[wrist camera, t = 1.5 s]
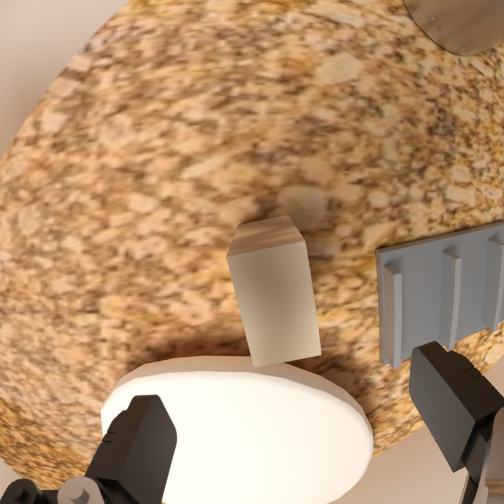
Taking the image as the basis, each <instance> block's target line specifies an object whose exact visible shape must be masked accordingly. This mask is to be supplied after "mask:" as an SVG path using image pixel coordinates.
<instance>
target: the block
mask: <svg viewBox="0 0 504 504" xmlns="http://www.w3.org/2000/svg"><path fill="white" fill-rule="evenodd" d="M226 257H227V261H228V265H229V269H230V274H231V278H232V282H233V286H234V290H235V294H236V298H237V302H238V306H239V310H240V314H241V318H242V322H243V326H244V330H245V334H246V338H247V342H248V346H249V350H250V354H251V358H252V361H253V365H254V367H258V366H264V365H270V364H276V363H282V362H288V361H293V360H298V359H303V358H308V357H313V356H318V355H322V354H321V346H320V338H319V330H318V322H317V314H316V307H315V300H314V293H313V286H312V279H311V273H310V266H309V260H308V254H307V248H306V242H305V240H304V238H303V237H302V235H301V234H300V232H299V231H298V229H297V228H296V226H295V225H294V223H293V222H292V220H291V219H290V217H289V216H288V215H285V216H280V217H275V218H269V219H264V220H259V221H254V222H249V223H244V224H240V225H238V226H237V229H236V232H235V234H234V237H233V240H232V243H231V245H230V248H229V251H228V254H227V256H226Z"/></svg>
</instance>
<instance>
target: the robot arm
mask: <svg viewBox="0 0 504 504" xmlns="http://www.w3.org/2000/svg"><path fill="white" fill-rule="evenodd" d="M403 1H404V4H405V6H406V8H407V10H408V12H409V13H410V15H411V17H412V18H413V19H414V21H415V22H416V24H417V25H418V26H419V27H420V28H421V29H422V30H423V31H424V32H425V34H427V35H428V36H429V37H430V38H431V39H432V40H433V41H434V42H436V43H437V44H439V45H440V46H442V47H443V48H445V49H447V50H449V51H450V52H452V53H455V54H458V55H462V56H472V55H476V54H478V53H480V52H483V51H485V50H488V49H490V48H493V47H495V46H497V45H501V44H503V43H504V0H403ZM409 391H410V396H411V399H412V401H413V403H414V405H415V407H416V408H417V410H418V412H419V413H420V415H421V417H422V418H423V420H424V422H425V423H426V425H427V427H428V429H429V430H430V432H431V434H432V435H433V437H434V439H435V441H436V443H437V444H438V446H439V448H440V450H441V451H442V453H443V455H444V457H445V459H446V460H447V462H448V464H449V466H450V468H451V470H452V471H453V473H454V472H456V471H458V470H460V469H462V468H464V467H466V469H467V471H468V472H469V473H468V475H467V477H466V481H465V484H464V488H463V492H462V495H461V498H460V502H459V504H504V397H503V396H502V395H501V394H500V393H499V392H498V391H497V390H496V389H495V387H494V386H493V385H492V384H491V383H490V382H489V381H488V380H487V379H486V378H485V377H484V376H482V375H481V372H480V371H479V370H478V369H477V368H474V365H473V364H472V363H471V362H470V361H469V360H468V359H467V358H466V357H465V356H463V355H461V354H459V353H457V352H454V351H449V352H447V351H446V350H445V349H444V348H443V347H442V346H441V345H440V344H439V343H438V342H437V341H432V342H429V343H426V344H423V345H421V346H418V347H415V348H413V350H412V356H411V369H410V380H409ZM176 445H177V431H176V428H175V426H174V424H173V422H172V420H171V418H170V416H169V414H168V412H167V410H166V408H165V406H164V404H163V402H162V400H161V398H160V397H159V396H158V395H156V394H155V395H135V396H134V397H133V398H132V400H131V402H130V404H129V406H128V408H127V410H122V411H121V412H120V413H119V414H118V415H117V416H116V417H115V418H114V419H113V420H112V422H111V424H110V426H109V428H108V430H107V434H105V435H104V437H103V439H102V443H100V445H99V447H98V449H97V451H96V453H95V455H94V457H93V459H92V461H91V463H90V465H89V467H88V469H87V471H86V473H85V475H84V477H75V478H72V479H70V480H68V481H67V482H65V483H64V484H63V485H62V486H61V488H60V490H40V489H39V488H38V487H37V486H36V485H35V484H34V483H33V482H32V481H30V480H28V479H18V480H16V481H14V482H12V483H11V484H10V485H9V486H8V487H7V489H6V491H5V493H4V494H3V496H2V498H1V500H0V504H161V502H162V498H163V494H164V490H165V487H166V483H167V479H168V475H169V471H170V467H171V464H172V460H173V456H174V452H175V449H176Z"/></svg>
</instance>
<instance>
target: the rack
mask: <svg viewBox="0 0 504 504" xmlns="http://www.w3.org/2000/svg"><path fill="white" fill-rule="evenodd" d="M375 254H376V266H377V281H378V299H379V335H380V356H379V359H380V361H381V362H382V364H383V365H386V364H389V363H390V365H391V366H392V368H393V369H395V368H399V367H400V360H402V359H406V358H409V357H411V356H412V350H413V348H415V347H418V346H421V345H423V344H426V343H429V342H432V341H437V342H438V343H439V344H440V345H441V346H445V347H446V348H447V349H448V350H451V349H453V348H454V345H455V341H457V340H460V339H462V338H465V337H467V336H470V335H472V334H474V333H477V332H479V331H482V330H484V329H486V328H489V329H490V330H491V331H492V332H493V331H496V330H497V328H498V323H500V322H502V321H504V221H500V222H496V223H491V224H487V225H483V226H479V227H474V228H470V229H466V230H462V231H457V232H453V233H449V234H444V235H440V236H435V237H431V238H426V239H422V240H417V241H413V242H408V243H404V244H399V245H395V246H390V247H385V248H381V249H376V250H375Z"/></svg>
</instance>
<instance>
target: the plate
mask: <svg viewBox="0 0 504 504" xmlns="http://www.w3.org/2000/svg"><path fill="white" fill-rule="evenodd" d="M155 394H156V395H158V396H159V397H160V398H161V400H162V402H163V404H164V406H165V408H166V410H167V412H168V414H169V416H170V418H171V420H172V422H173V424H174V426H175V428H176V431H177V445H176V449H175V452H174V456H173V460H172V464H171V467H170V471H169V475H168V479H167V483H166V487H165V490H164V494H163V498H162V502H164V503H166V504H328V503H330V502H332V501H334V500H336V499H338V498H340V497H341V496H342V495H343V494H345V493H346V492H347V491H348V490H349V489H350V488H352V487H353V486H354V485H355V484H356V483H357V482H358V481H359V480H360V478H361V477H362V476H363V475H364V473H365V472H366V470H367V467H368V464H369V461H370V459H371V456H372V453H373V430H372V428H371V425H370V423H369V421H368V419H367V417H366V415H365V413H364V411H363V409H362V407H361V405H360V404H359V403H358V402H357V401H356V400H355V399H354V398H353V397H352V396H351V395H350V394H349V393H348V392H347V391H345V390H344V389H343V388H341V387H340V386H338V385H336V384H334V383H333V382H331V381H329V380H327V379H326V378H324V377H322V376H320V375H317V374H314V373H311V372H309V371H306V370H303V369H300V368H297V367H295V366H292V365H289V364H286V363H284V362H282V363H276V364H270V365H264V366H258V367H254V365H253V361H252V358H251V357H250V356H195V357H182V358H173V359H168V360H163V361H158V362H153V363H148V364H144V365H142V366H140V367H138V368H137V369H135V370H133V371H131V372H130V373H128V374H126V375H124V376H122V377H121V378H120V379H119V380H118V382H117V383H116V385H115V386H114V388H113V389H112V390H111V392H110V393H109V395H108V396H107V398H106V399H105V400H104V402H103V403H102V407H101V410H100V411H101V422H102V431H103V437H104V435H105V434H107V430H108V428H109V426H110V424H111V422H112V420H113V419H114V418H115V417H116V416H117V415H118V414H119V413H120V412H121V411H122V410H127V408H128V406H129V404H130V402H131V400H132V398H133V397H134V396H135V395H155Z"/></svg>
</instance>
